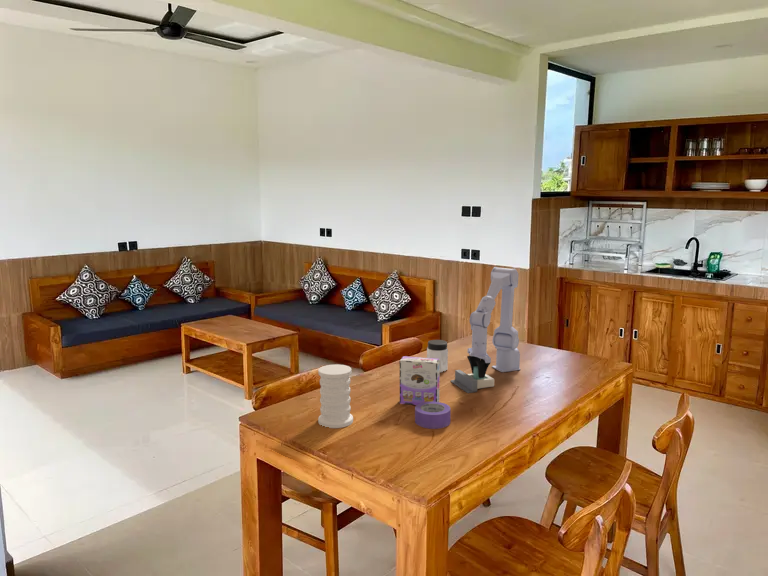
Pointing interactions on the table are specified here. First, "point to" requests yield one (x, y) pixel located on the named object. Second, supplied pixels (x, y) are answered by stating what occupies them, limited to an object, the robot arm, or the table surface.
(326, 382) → the decorative container
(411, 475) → the table surface
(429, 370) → the candy box
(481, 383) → the block
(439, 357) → the jar
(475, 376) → the dowel
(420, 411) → the tape roll
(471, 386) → the wall
